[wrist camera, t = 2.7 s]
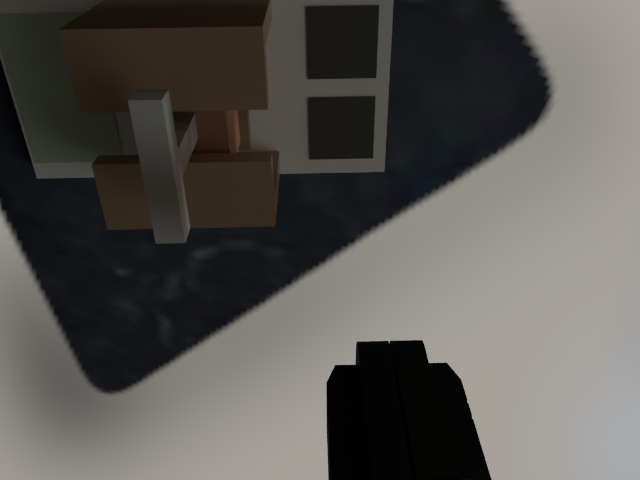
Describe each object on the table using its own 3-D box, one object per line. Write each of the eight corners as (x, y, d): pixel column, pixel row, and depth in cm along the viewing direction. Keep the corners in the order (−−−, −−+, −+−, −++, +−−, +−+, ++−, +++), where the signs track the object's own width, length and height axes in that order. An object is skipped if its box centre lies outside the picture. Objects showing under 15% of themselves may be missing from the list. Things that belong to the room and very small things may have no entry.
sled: (141, 33, 29) (73, 101, 20) (242, 31, 29) (216, 98, 20) (161, 145, 32) (109, 244, 24) (251, 143, 32) (231, 241, 24)
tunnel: (-7, -14, 29) (-101, 21, 22) (390, -20, 29) (415, 13, 23) (47, 167, 34) (-17, 239, 28) (381, 160, 35) (399, 230, 28)
